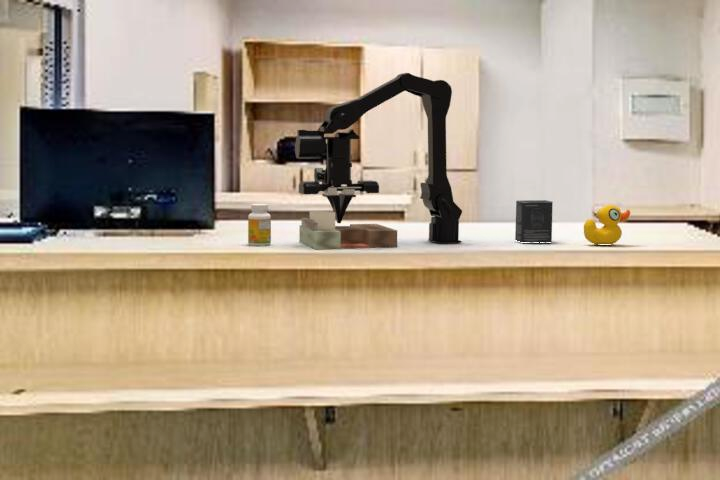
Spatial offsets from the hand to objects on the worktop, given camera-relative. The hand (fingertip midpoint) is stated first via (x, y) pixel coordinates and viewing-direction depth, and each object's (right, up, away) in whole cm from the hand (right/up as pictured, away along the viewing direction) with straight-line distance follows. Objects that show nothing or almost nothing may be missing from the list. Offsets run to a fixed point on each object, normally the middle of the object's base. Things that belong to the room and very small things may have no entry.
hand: (338, 223), depth 226 cm
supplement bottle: (-19, -5, -2) cm, 20 cm away
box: (+49, -5, +9) cm, 50 cm away
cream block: (-4, -1, -1) cm, 4 cm away
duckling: (+66, -6, +5) cm, 66 cm away
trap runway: (+2, -5, +1) cm, 6 cm away
